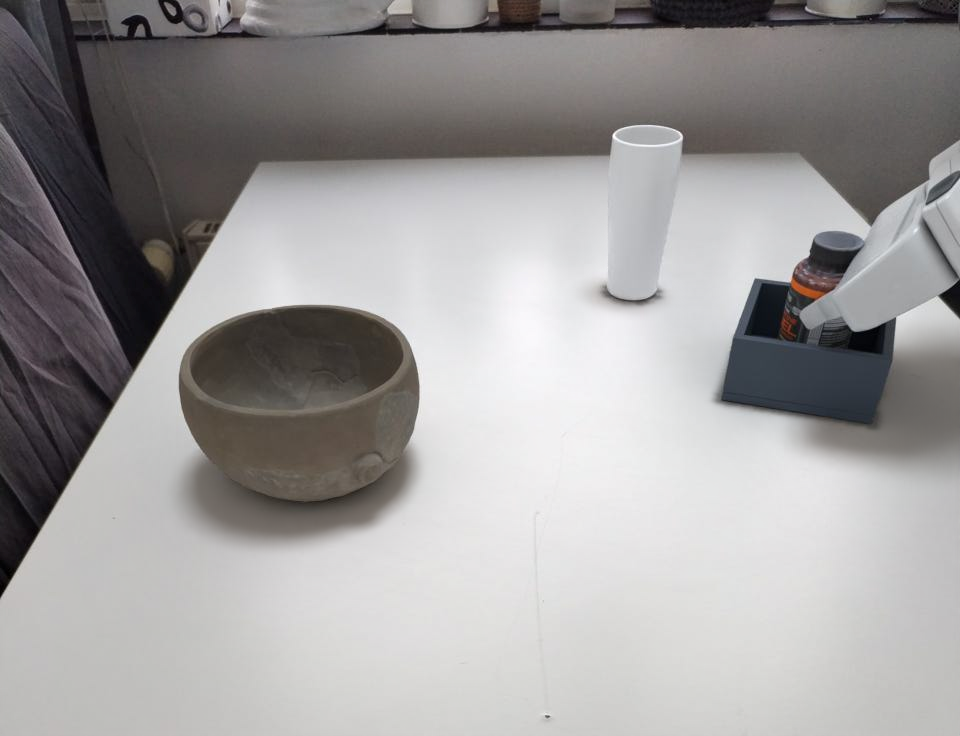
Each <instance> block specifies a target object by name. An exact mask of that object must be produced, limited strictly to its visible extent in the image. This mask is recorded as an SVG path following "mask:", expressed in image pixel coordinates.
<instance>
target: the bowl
mask: <svg viewBox="0 0 960 736" xmlns="http://www.w3.org/2000/svg"><path fill="white" fill-rule="evenodd" d="M420 386H421V385H420V376H419V369H418V364H417V361H416V358H415V355H414V352H413V349H412V346H411V344H410V342H409V341H408V338H407V337H406V336H405V334H404V332H402V331H401V329H400V328H398V327H397V326H396V325H395V324H394V323H392V322H390V321H389V320H387V319H386V318H384V317H382V316H380V315H378V314H375V313H372V312H370V311H367V310H363V309H359V308H355V307H348V306H342V305H333V304H292V305H283V306H277V307H272V308H265V309H257V310H254V311H249V312H245V313H242V314H239V315H235V316H232V317H230V318H227V319H226V320H224V321H221V322H219V323H217V324H215V325H213V326H212V327H210V328H209V329H207V330H206V331H204V332H203V333H201V334H200V335H199V336H197V338H195V339H194V340H193V341H192V342H191V344H190V345H189V346H188V347H187V348H186V349H185V351H184V354H183V355H182V359H181V361H180V364H179V370H178V393H179V400H180V407H181V411H182V415H183V417H184V421H185V423H186V426H187V427H188V429H189V432H190V434H191V436H192V438H193V439H194V441H195V443H196V445H197V446H198V448H199V449H200V450H201V451H202V453H203V454H204V455H205V456H206V457H207V459H208V460H209V461H210V462H211V464H213V465H214V466H215V467H216V468H217V470H219V471H220V472H221V473H222V474H224V475H225V476H227V477H228V478H230V479H231V480H233V481H234V482H236V483H237V484H239V485H240V486H243V487H244V488H246V489H249V490H251V491H253V492H255V493H259V494H262V495H265V496H268V497H272V498H275V499H279V500H285V501H296V502H305V503H307V502H316V501H325V500H329V499H333V498H339V497H344V496H346V495H349V494H350V493H353V492H355V491H357V490H360V489H363V488H364V487H367V486H368V485H370V484H372V483H374V482H376V481H377V480H378V479H379V478H380V477H381V476H382V475H383V474H385V472H387V471H388V470H390V469H391V468H392V467H393V466H394V465H395V464H396V463H397V461H398V460H399V459H400V458H401V455H402V454H403V452H404V451H405V450H406V447H407V446H408V444H409V442H410V440H411V438H412V436H413V433H414V430H415V427H416V422H417V417H418V414H419V408H420V398H421V396H420V394H421V393H420V391H421V390H420V388H421V387H420Z"/></svg>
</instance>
